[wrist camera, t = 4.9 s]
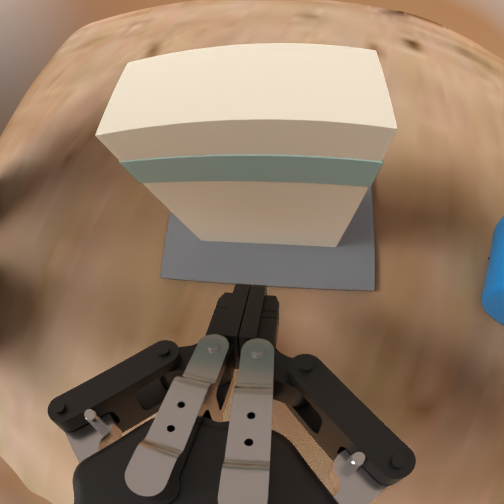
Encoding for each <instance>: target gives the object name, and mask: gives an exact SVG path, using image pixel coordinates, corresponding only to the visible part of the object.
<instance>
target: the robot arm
mask: <svg viewBox="0 0 504 504" xmlns="http://www.w3.org/2000/svg"><path fill="white" fill-rule="evenodd" d="M278 325H279V302H278V300H277V297H276V296H268V295H267V287H266V285H255V284H252V285H251V284H241V283H236V285H235V288H234V291H233V293H224V294H223V295H222V296H221V297H220V298H219V300H218V302H217V305H216V308H215V311H214V314H213V316H212V319H211V322H210V325H209V327H208V330H207V333H206V336H205V337H203V338H202V339H201V340H200V341H199V342H198V343H197V344H195V345H192V346H185V347H178V346H177V345H176V344H175V343H174V342H172V341H168V340H164V341H159V342H157V343H155V344H153V345H151V346H150V347H148V348H146V349H144V350H143V351H141V352H139V353H137V354H135V355H134V356H132V357H130V358H128V359H126V360H125V361H123V362H121V363H119V364H117V365H116V366H114V367H112V368H110V369H108V370H107V371H105V372H103V373H101V374H99V375H97V376H96V377H94V378H92V379H90V380H88V381H86V382H84V383H83V384H81V385H79V386H77V387H75V388H73V389H71V390H69V391H67V392H66V393H64V394H62V395H60V396H58V397H56V398H54V399H53V400H52V401H51V403H50V404H49V407H48V415H49V417H50V419H51V420H52V421H53V422H54V423H55V424H57V425H58V426H59V427H60V428H61V429H62V430H63V431H64V432H65V433H66V435H67V438H68V440H69V442H70V444H71V446H72V449H73V451H74V453H75V455H76V457H77V459H78V461H79V465H78V466H77V467H76V469H75V472H74V475H73V489H74V504H368V503H369V502H371V501H372V500H373V499H374V498H376V497H377V496H378V495H379V494H380V493H382V492H383V491H385V490H387V489H389V488H391V487H392V486H394V485H395V484H397V483H398V482H400V481H401V480H402V479H403V478H404V477H406V476H407V475H409V474H410V473H411V472H412V470H413V469H414V466H415V462H416V460H415V455H414V453H413V451H412V450H411V449H410V448H409V447H408V446H407V445H406V444H405V443H403V442H402V441H401V440H400V439H399V438H398V437H397V436H396V435H395V434H394V433H393V432H392V431H391V430H390V429H389V428H388V427H387V426H386V425H385V424H384V423H383V422H382V421H381V420H380V419H379V418H378V417H376V416H375V415H374V414H373V413H372V412H371V411H370V410H369V409H368V408H367V407H366V406H365V405H364V404H363V403H362V402H361V401H360V400H359V399H358V398H357V397H356V396H355V395H354V394H353V393H352V392H351V391H350V390H349V389H348V388H347V387H346V386H345V385H344V384H343V383H342V382H341V381H340V380H339V379H338V378H337V377H336V376H335V375H334V374H333V373H332V372H331V371H330V370H329V369H328V368H327V367H326V366H325V365H324V364H323V363H322V362H321V361H320V360H319V359H318V358H317V357H315V356H313V355H310V354H301V355H298V356H296V357H294V358H290V357H287V356H285V355H283V354H281V353H280V352H279V351H278V350H277V349H276V342H277V333H278ZM234 369H239V371H238V379H237V386H235V388H234V393H233V400H232V407H231V415H230V421H228V422H222V419H223V413H224V410H225V407H226V404H227V401H228V398H229V395H230V392H231V389H232V386H233V383H234V377H233V373H234ZM273 399H275V400H278V401H281V402H283V403H286V405H287V407H288V408H289V409H290V411H291V412H292V413H293V414H294V416H295V417H296V418H297V419H298V420H299V422H300V423H301V424H302V425H303V426H304V428H305V429H306V430H307V431H308V432H309V434H310V435H311V436H312V437H313V438H314V439H315V441H316V442H317V443H318V444H319V445H320V446H321V448H322V449H323V450H324V451H325V452H326V453H327V454H328V456H329V457H330V458H331V459H332V460H333V463H332V464H331V466H330V468H329V471H328V475H329V479H330V480H331V482H332V484H333V487H334V492H333V495H332V494H331V493H330V492H329V491H328V489H327V488H326V487H325V486H324V484H323V483H322V482H321V481H320V479H319V478H318V477H317V475H316V474H315V473H314V472H313V470H312V469H311V468H310V466H309V465H308V464H307V462H306V461H305V460H304V458H303V457H302V456H301V454H300V453H299V452H298V450H297V449H296V448H295V446H294V445H293V444H292V443H291V442H290V441H289V440H288V439H287V438H286V437H284V436H283V435H281V434H280V433H278V432H276V431H274V430H271V429H272V405H273ZM157 412H158V413H157ZM155 413H157V415H156V417H155V418H152V419H150V420H148V421H147V422H145V423H144V424H142V425H141V426H139V427H137V428H136V429H134V430H133V431H131V432H129V433H128V434H126V435H125V436H123V437H122V433H123V432H125V431H126V430H128V429H130V428H131V427H133V426H135V425H137V424H138V423H140V422H142V421H143V420H145V419H147V418H148V417H150V416H152V415H153V414H155Z"/></svg>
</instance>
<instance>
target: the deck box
mask: <svg viewBox="0 0 504 504" xmlns="http://www.w3.org/2000/svg"><path fill="white" fill-rule="evenodd" d="M396 131H397V125H396V121H395V116H394V112H393V108H392V104H391V100H390V96H389V92H388V89H387V85H386V81H385V78H384V75H383V71H382V68H381V65H380V62H379V59H378V56H377V53H376V50H369V49H362V48H354V47H345V46H335V45H322V44H300V43H264V44H242V45H229V46H218V47H209V48H201V49H194V50H187V51H181V52H175V53H170V54H164V55H159V56H155V57H150V58H145V59H141V60H137V61H133V62H129V63H127V65H126V67H125V69H124V71H123V73H122V75H121V77H120V79H119V81H118V83H117V85H116V87H115V90H114V92H113V94H112V96H111V98H110V101H109V103H108V105H107V107H106V110H105V112H104V114H103V117H102V119H101V122H100V124H99V127H98V129H97V132H96V135H95V136H96V137H97V138H98V139H99V140H100V141H101V142H102V143H103V144H104V145H105V146H106V147H107V148H108V149H109V150H110V152H111V153H112V154H113V155H114V156H115V157H116V158H117V159H118V160H119V163H120V164H121V165H122V166H123V167H124V168H125V169H126V170H127V171H128V172H129V173H130V174H131V175H132V176H133V177H134V178H135V179H136V180H137V181H138V182H139V183H142V184H143V185H144V186H145V187H146V188H147V189H148V190H149V191H151V192H152V193H153V194H154V195H155V196H156V197H157V198H158V199H159V200H160V201H161V202H162V203H163V204H164V205H165V206H166V207H167V208H168V209H169V210H170V211H171V212H172V213H173V214H174V215H175V216H176V217H177V218H178V219H179V220H180V221H181V222H182V223H183V224H184V225H185V226H186V227H187V228H189V229H190V230H191V231H192V232H193V233H194V234H195V235H196V236H197V237H198V238H199V239H200V240H201V241H217V242H240V243H262V244H283V245H303V246H323V247H336V246H337V244H338V243H339V241H340V239H341V237H342V235H343V234H344V232H345V230H346V228H347V227H348V225H349V223H350V221H351V219H352V217H353V216H354V214H355V212H356V210H357V208H358V206H359V205H360V203H361V201H362V199H363V197H364V195H365V193H366V191H367V189H368V187H371V185H372V183H373V181H374V180H375V178H376V176H377V174H378V172H379V170H380V168H381V166H382V164H383V158H384V156H385V154H386V152H387V150H388V148H389V145H390V143H391V141H392V139H393V137H394V135H395V133H396Z"/></svg>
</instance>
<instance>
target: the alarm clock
mask: <svg viewBox="0 0 504 504" xmlns="http://www.w3.org/2000/svg"><path fill="white" fill-rule="evenodd" d="M488 259H489V263H488V268H487V273H486V278H485V282H484V287H483V291H482V295H481V303H482V306H483V308H484V310H485V311H486V312H487V313H488V314H489V315H490V316H491V317H492V318H493V319H494V320H496V321H497V322H499V323H501V324H502V325H504V216H503V217H502V218H501V220H500V221H499V222H498V224H497V225H496V228H495V230H494V233H493V239H492V246H491V252H490V257H489V258H488Z"/></svg>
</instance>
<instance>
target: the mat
mask: <svg viewBox="0 0 504 504" xmlns="http://www.w3.org/2000/svg"><path fill="white" fill-rule="evenodd" d="M160 278H164V279H175V280H187V281H199V282H212V283H225V284H236V283H241V284H251V285H252V284H255V285H266V286H270V287H287V288H306V289H328V290H352V291H374V290H375V245H374V218H373V201H372V188H371V187H368V189H367V191H366V193H365V195H364V197H363V199H362V201H361V203H360V205H359V206H358V208H357V210H356V212H355V214H354V216H353V217H352V219H351V221H350V223H349V225H348V227H347V228H346V230H345V232H344V234H343V235H342V237H341V239H340V241H339V243H338V244H337V246H336V247H323V246H303V245H283V244H262V243H240V242H217V241H201V240H200V239H199V238H198V237H197V236H196V235H195V234H194V233H193V232H192V231H191V230H190V229H189V228H187V227H186V226H185V225H184V224H183V223H182V222H181V221H180V220H179V219H178V218H177V217H176V216H175V215H174V214H173V213H172V212H171V211H170V215H169V221H168V227H167V233H166V239H165V246H164V253H163V260H162V267H161V275H160Z"/></svg>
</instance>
